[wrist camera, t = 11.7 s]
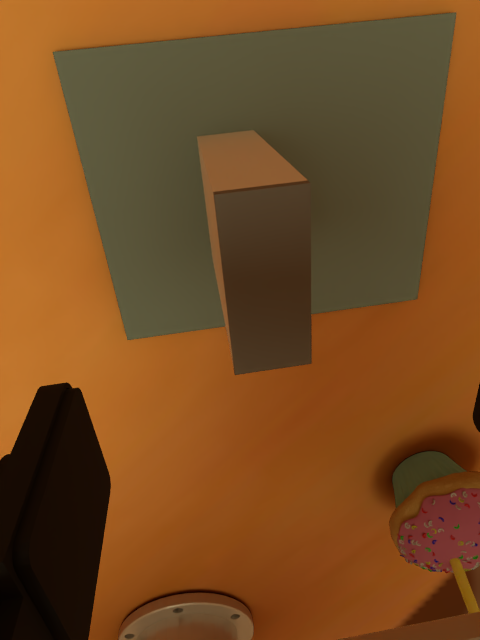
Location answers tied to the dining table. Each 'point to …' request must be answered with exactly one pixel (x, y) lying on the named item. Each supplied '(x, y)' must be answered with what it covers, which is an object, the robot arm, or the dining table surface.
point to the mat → (282, 135)
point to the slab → (259, 249)
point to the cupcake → (438, 517)
